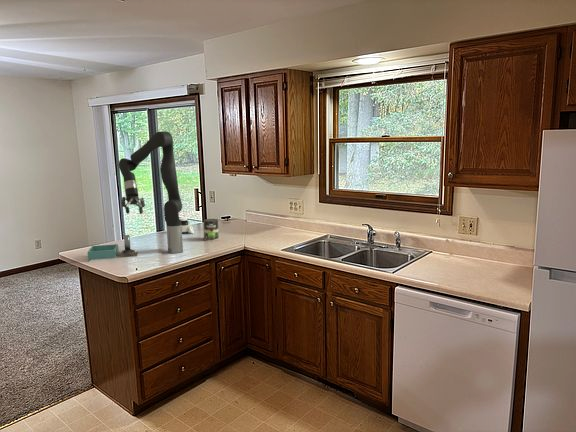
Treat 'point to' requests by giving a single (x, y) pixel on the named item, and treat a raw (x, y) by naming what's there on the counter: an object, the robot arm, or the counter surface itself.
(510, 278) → the counter surface
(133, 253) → the square framed wooden base
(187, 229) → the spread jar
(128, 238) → the tube
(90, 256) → the bin
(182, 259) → the counter surface
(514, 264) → the counter surface
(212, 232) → the coffee can
